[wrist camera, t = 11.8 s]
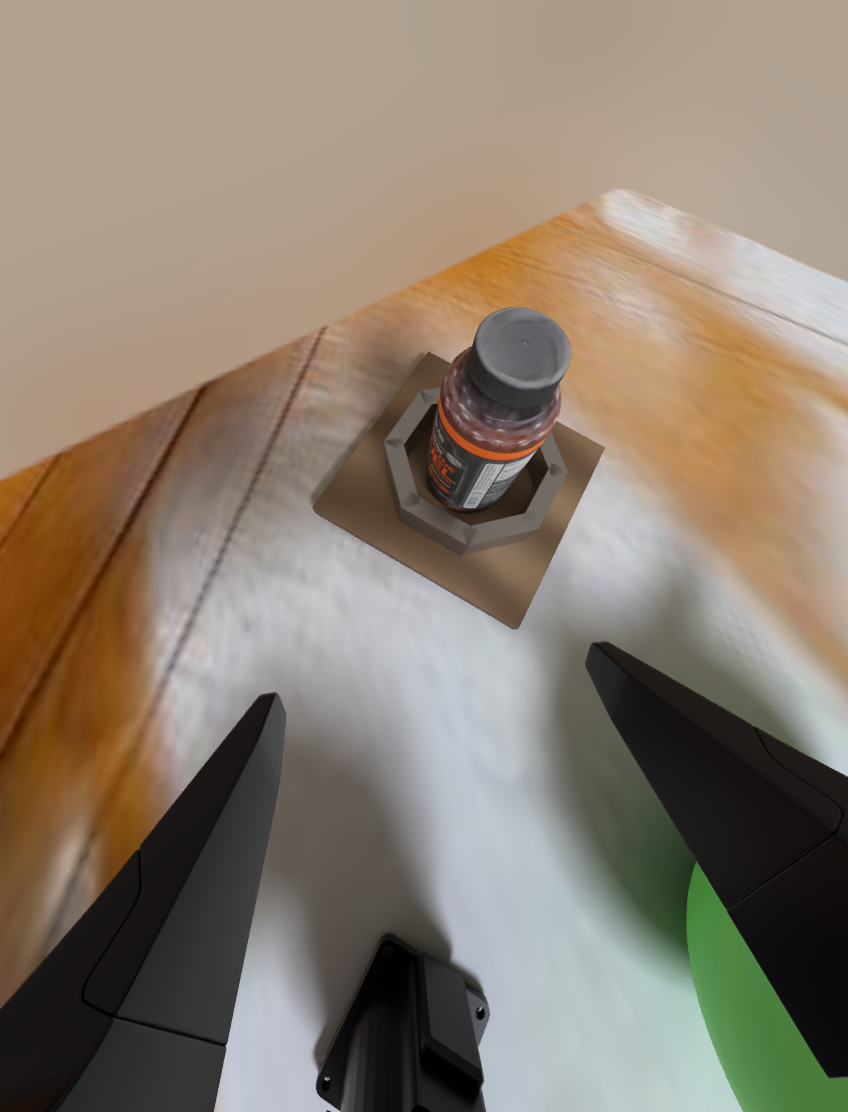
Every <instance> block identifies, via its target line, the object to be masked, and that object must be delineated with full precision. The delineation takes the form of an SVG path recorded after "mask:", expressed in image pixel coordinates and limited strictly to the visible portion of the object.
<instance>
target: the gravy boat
mask: <svg viewBox="0 0 848 1112" xmlns="http://www.w3.org/2000/svg"><path fill="white" fill-rule="evenodd" d="M686 928H687V943H688V952H689V959H690V965H691V971H692V976H693V981H694V985H695V989H696V993H697V997H698V1001H699V1004H700V1008H701V1011H702V1014H703V1017H704V1020H705V1023H706V1026H707V1029H708V1032H709V1035H710V1038H711V1040H712V1043H713V1046H714V1048H715V1051H716V1053H717V1056H718V1058H719V1060H720V1063H721V1065H722V1068H723V1070H724V1072H725V1074H726V1077H727V1079H728V1081H729V1083H730V1086H731V1088H732V1090H733V1092H734V1094H735V1096H736V1098H737V1100H738V1102H739V1104H740V1106H741V1108H742V1110H743V1112H848V1078H838V1079H829V1078H828V1077H827V1075H826V1074H825V1072H824V1071H823V1069H822V1068H821V1067H820V1065H819V1063H818V1062H817V1060H816V1059H815V1057H814V1055H813V1054H812V1052H811V1050H810V1049H809V1047H808V1045H807V1044H806V1042H805V1041H804V1039H803V1037H802V1036H801V1034H800V1032H799V1031H798V1029H797V1027H796V1026H795V1024H794V1022H793V1021H792V1019H791V1017H790V1016H789V1014H788V1012H787V1011H786V1009H785V1007H784V1006H783V1004H782V1002H781V1001H780V999H779V997H778V996H777V994H776V993H775V991H774V989H773V988H772V986H771V984H770V983H769V981H768V979H767V978H766V976H765V974H764V973H763V971H762V969H761V968H760V966H759V964H758V963H757V961H756V959H755V958H754V956H753V954H752V953H751V951H750V949H749V948H748V946H747V945H746V943H745V941H744V940H743V938H742V936H741V935H740V933H739V931H738V930H737V928H736V926H735V925H734V923H733V921H732V920H731V918H730V916H729V915H728V913H727V911H726V908H725V907H724V906H723V904H722V903H721V901H720V899H719V898H718V896H717V894H716V893H715V891H714V889H713V888H712V886H711V884H710V883H709V881H708V879H707V878H706V876H705V874H704V873H703V871H702V870H701V868H700V866H699V865H698V863H697V861H696V864H695V866H694V869H693V873H692V876H691V880H690V885H689V891H688V898H687V912H686Z"/></svg>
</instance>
